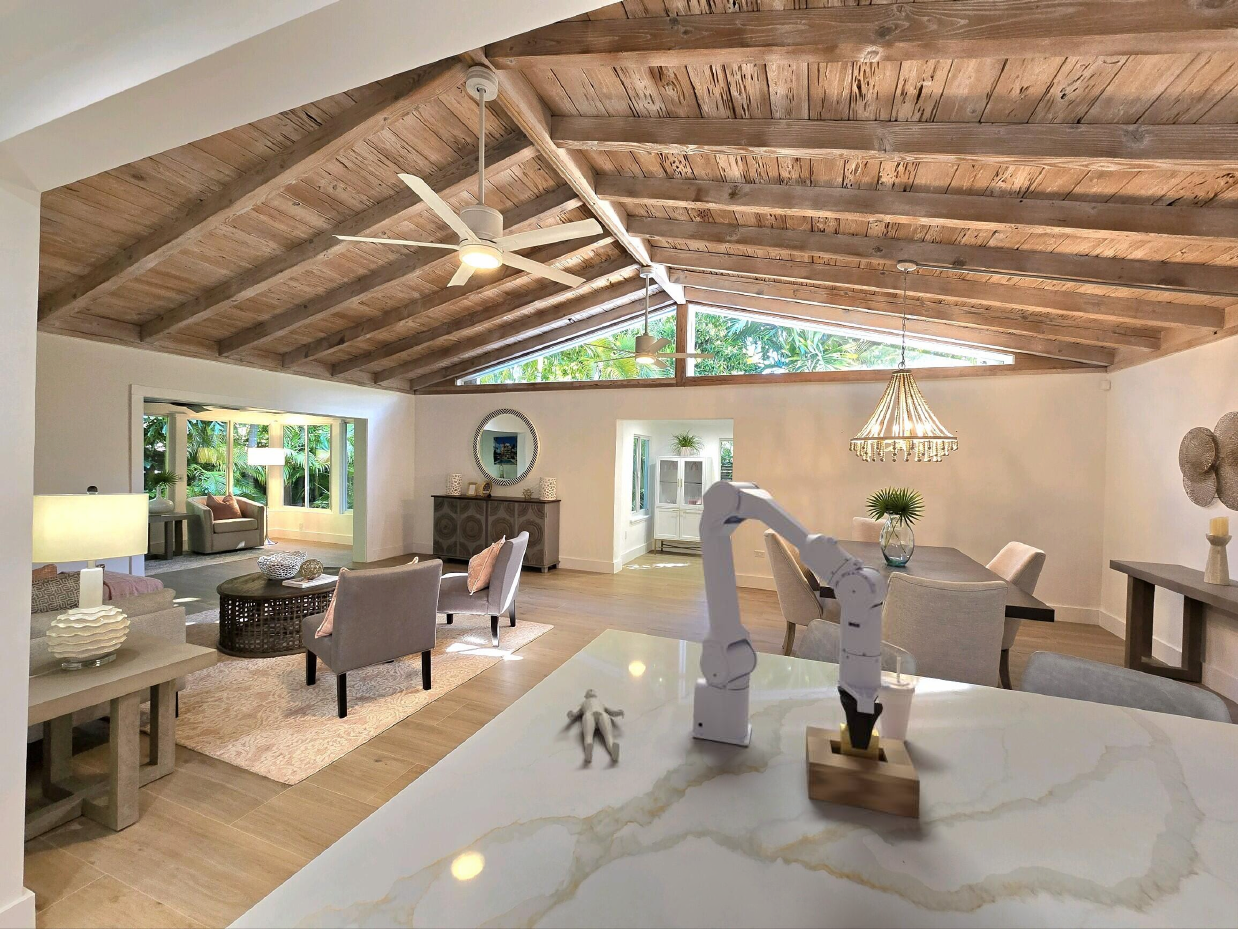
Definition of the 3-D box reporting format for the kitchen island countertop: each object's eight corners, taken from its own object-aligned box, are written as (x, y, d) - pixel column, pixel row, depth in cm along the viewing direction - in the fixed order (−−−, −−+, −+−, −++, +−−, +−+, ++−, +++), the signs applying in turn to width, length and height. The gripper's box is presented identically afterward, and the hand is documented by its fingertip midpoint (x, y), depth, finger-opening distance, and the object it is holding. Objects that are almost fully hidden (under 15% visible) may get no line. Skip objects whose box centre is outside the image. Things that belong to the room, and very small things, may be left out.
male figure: (570, 738, 86) (564, 685, 108) (569, 764, 86) (563, 705, 108) (634, 736, 88) (616, 684, 109) (634, 761, 88) (615, 704, 109)
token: (840, 761, 82) (841, 730, 82) (839, 753, 84) (840, 723, 84) (878, 767, 80) (878, 736, 80) (875, 759, 83) (876, 728, 83)
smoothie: (919, 748, 94) (921, 665, 95) (878, 743, 96) (880, 661, 96) (907, 731, 101) (909, 653, 101) (869, 727, 102) (871, 650, 102)
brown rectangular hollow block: (808, 797, 79) (809, 761, 79) (805, 757, 90) (806, 726, 90) (918, 818, 75) (919, 780, 75) (901, 773, 86) (902, 740, 86)
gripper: (899, 669, 75) (897, 772, 74) (882, 640, 88) (880, 726, 88) (842, 663, 77) (840, 763, 76) (834, 635, 91) (832, 719, 90)
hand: (858, 743), depth 82 cm, fingers closed on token, 2 cm apart
